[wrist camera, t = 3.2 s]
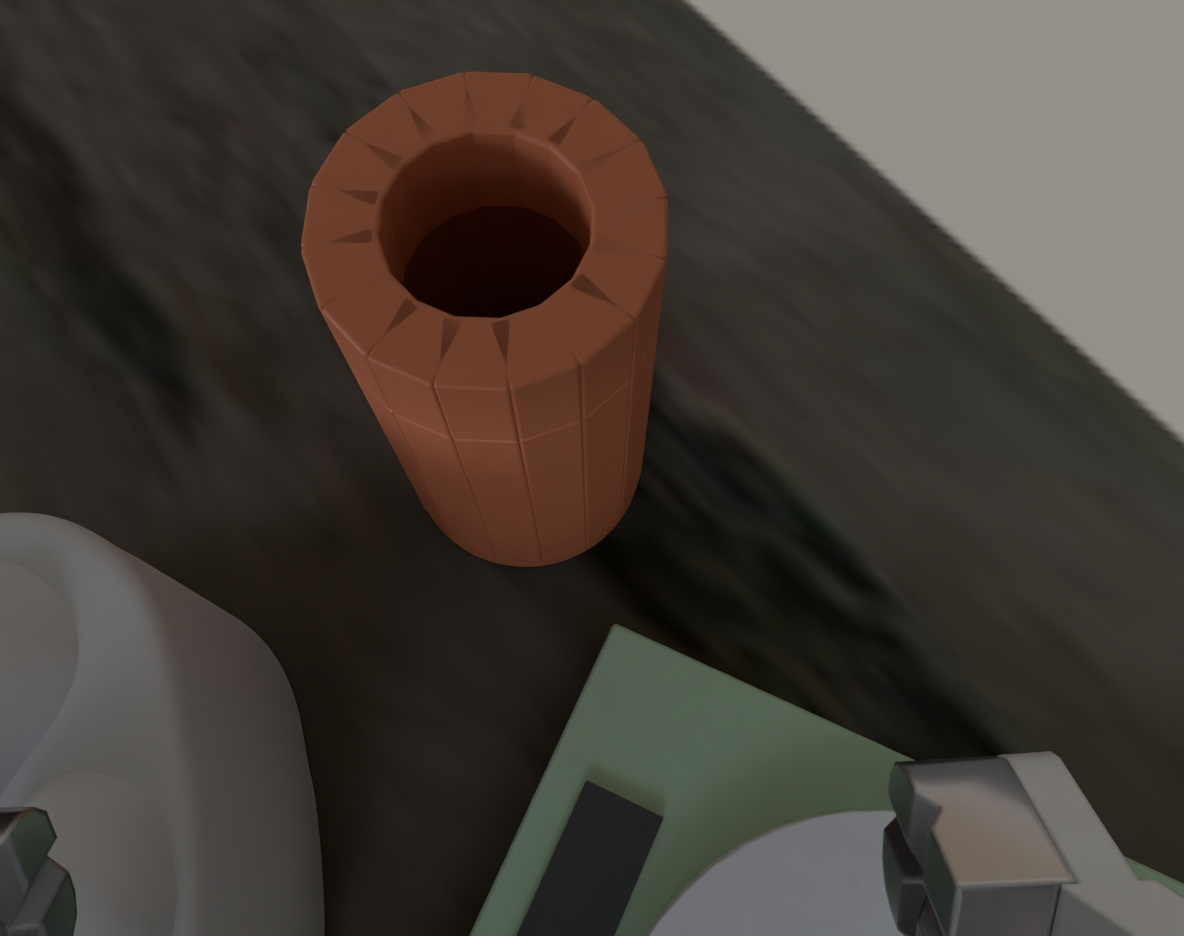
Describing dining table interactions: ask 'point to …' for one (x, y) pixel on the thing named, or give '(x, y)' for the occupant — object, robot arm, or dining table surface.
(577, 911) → the scale
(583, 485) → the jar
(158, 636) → the lumpy-topped squat cylinder
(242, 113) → the dining table surface
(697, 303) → the dining table surface
